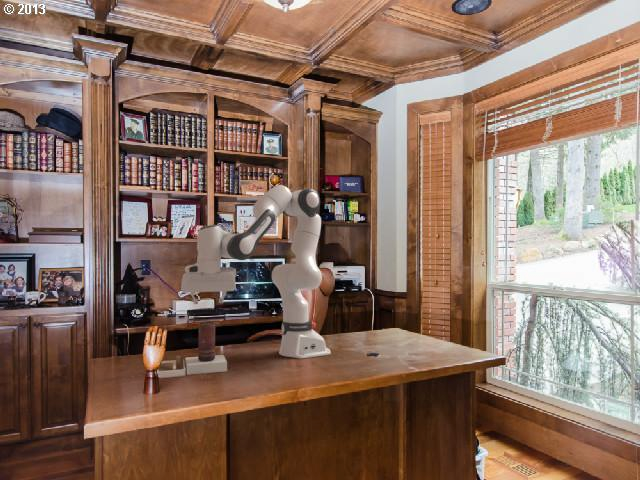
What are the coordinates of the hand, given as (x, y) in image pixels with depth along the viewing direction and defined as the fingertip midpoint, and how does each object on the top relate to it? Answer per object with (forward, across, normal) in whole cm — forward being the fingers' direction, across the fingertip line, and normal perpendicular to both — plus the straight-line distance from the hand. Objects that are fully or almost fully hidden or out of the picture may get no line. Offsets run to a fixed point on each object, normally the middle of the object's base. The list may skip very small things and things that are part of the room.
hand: (208, 303), depth 169 cm
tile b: (+22, +15, 0) cm, 27 cm away
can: (+22, 0, 0) cm, 22 cm away
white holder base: (+25, +1, 0) cm, 25 cm away
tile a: (+22, +9, 0) cm, 24 cm away
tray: (+25, +14, 0) cm, 28 cm away
